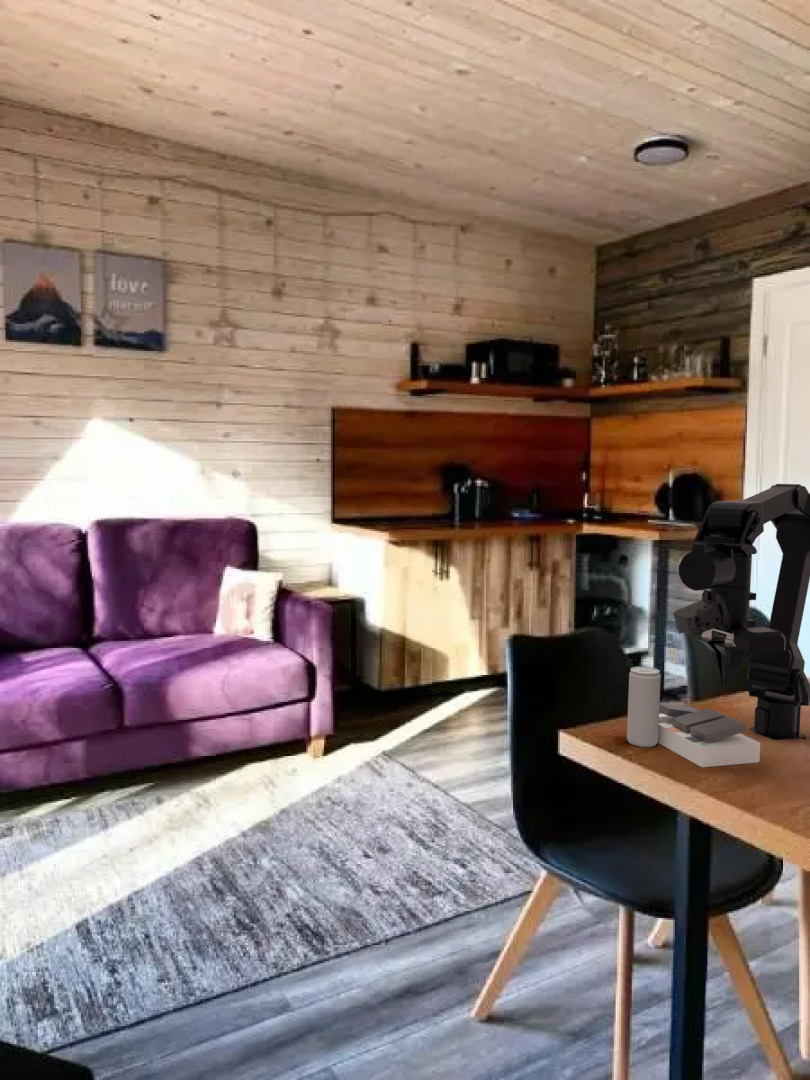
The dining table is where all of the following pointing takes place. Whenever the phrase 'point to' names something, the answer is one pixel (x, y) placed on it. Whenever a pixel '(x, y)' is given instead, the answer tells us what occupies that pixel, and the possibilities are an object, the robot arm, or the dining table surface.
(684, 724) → the block
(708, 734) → the block
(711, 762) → the rocker switch panel
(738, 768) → the dining table surface
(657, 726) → the beverage can
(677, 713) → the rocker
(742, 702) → the dining table surface
